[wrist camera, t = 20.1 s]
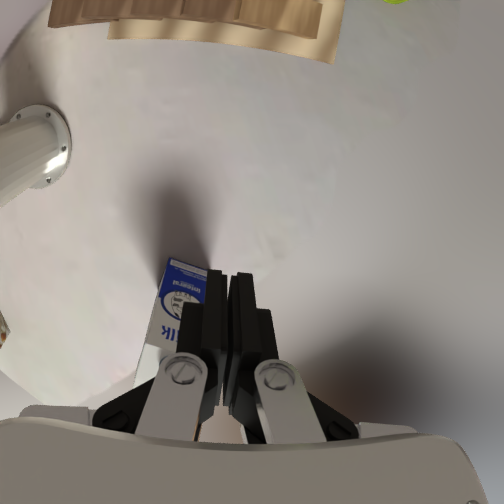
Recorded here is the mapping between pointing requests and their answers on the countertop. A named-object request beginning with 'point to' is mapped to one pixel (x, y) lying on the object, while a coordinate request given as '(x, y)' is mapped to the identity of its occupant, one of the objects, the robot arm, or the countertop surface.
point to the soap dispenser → (395, 1)
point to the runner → (241, 33)
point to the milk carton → (169, 315)
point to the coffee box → (3, 330)
